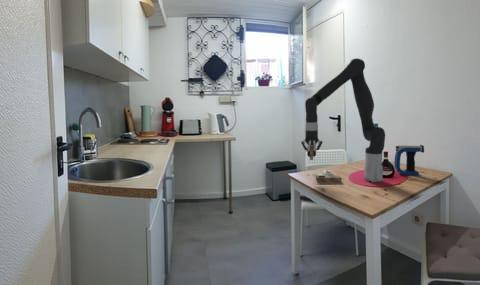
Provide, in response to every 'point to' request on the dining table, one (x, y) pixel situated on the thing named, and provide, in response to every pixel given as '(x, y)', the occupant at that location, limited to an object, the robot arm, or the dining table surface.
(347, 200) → the dining table surface
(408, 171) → the handheld scanner
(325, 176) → the joist batten
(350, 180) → the dining table surface
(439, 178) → the dining table surface
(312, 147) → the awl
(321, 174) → the subfloor panel
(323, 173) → the stud finder block
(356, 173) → the dining table surface
